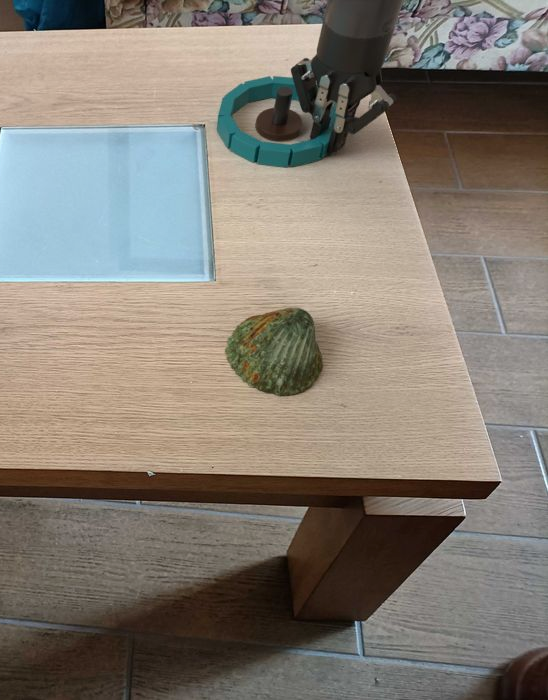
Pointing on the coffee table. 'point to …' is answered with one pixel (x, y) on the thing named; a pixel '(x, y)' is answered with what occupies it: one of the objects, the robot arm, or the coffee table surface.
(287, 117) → the peg stand
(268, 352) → the seashell
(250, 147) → the ring
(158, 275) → the coffee table surface
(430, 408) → the coffee table surface
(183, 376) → the coffee table surface
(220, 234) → the coffee table surface
